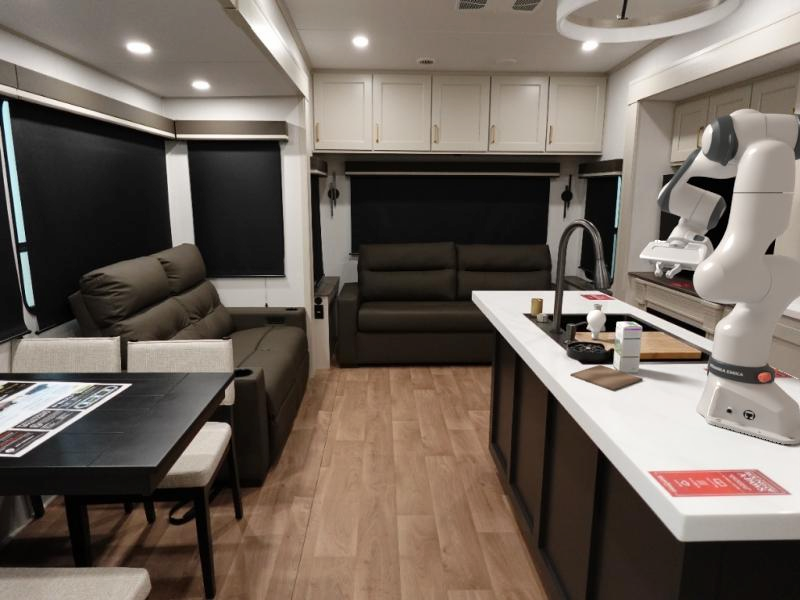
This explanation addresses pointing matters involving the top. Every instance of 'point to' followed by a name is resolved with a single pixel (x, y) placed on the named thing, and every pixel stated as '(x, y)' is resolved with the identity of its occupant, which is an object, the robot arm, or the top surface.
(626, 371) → the syrup box
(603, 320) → the lightbulb
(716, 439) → the top surface
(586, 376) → the walnut board
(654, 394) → the top surface
